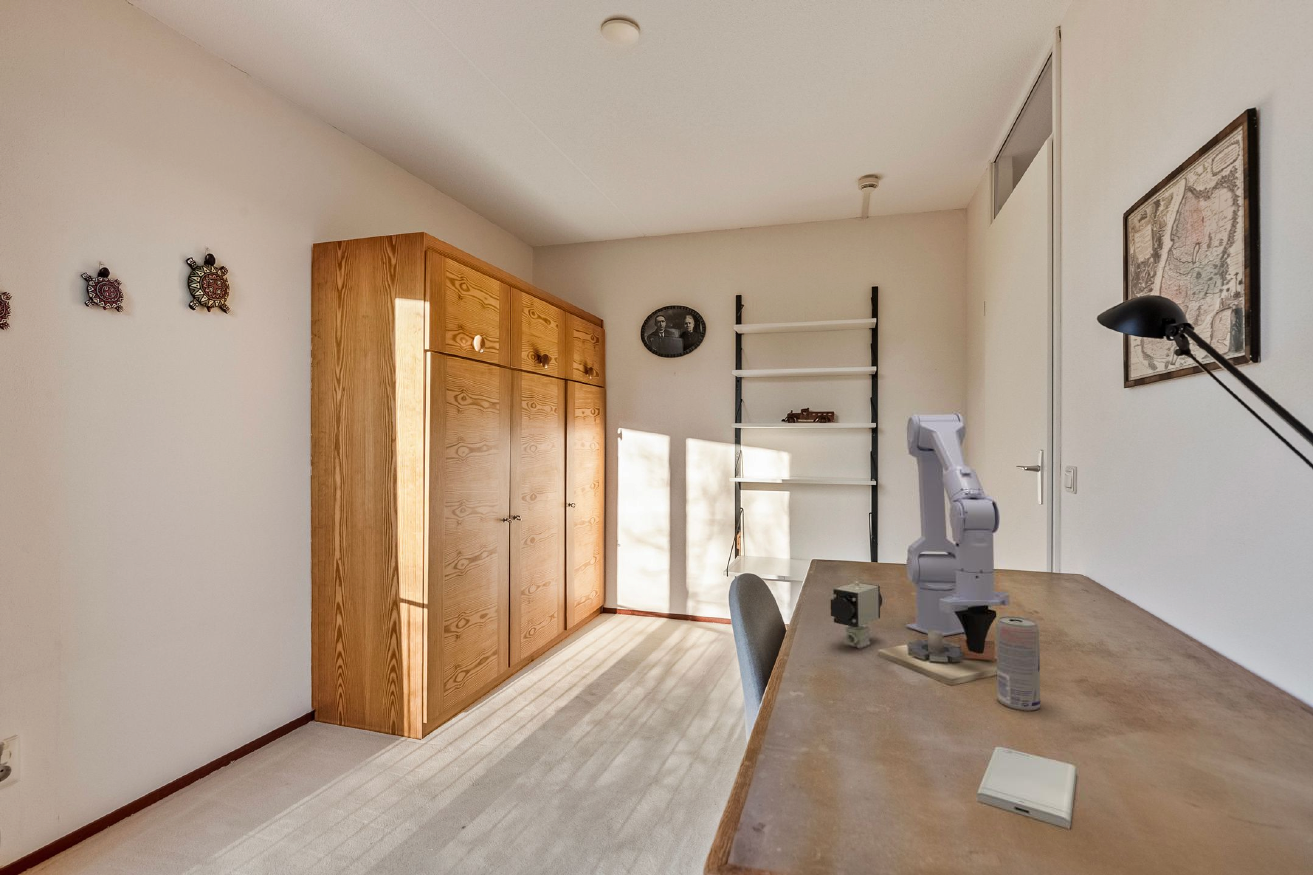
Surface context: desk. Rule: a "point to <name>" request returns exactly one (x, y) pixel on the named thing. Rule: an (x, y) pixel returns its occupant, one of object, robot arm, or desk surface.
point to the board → (941, 663)
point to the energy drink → (1018, 663)
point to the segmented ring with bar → (952, 651)
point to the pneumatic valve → (856, 610)
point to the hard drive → (1029, 786)
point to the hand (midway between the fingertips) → (976, 651)
